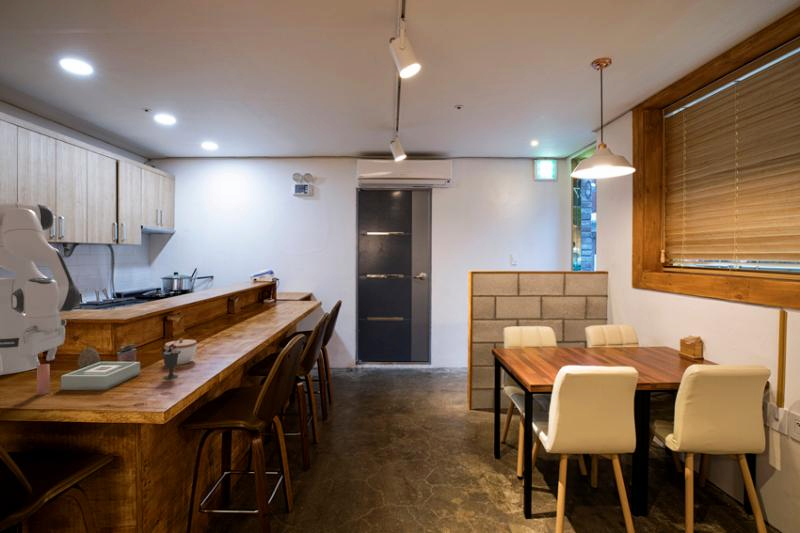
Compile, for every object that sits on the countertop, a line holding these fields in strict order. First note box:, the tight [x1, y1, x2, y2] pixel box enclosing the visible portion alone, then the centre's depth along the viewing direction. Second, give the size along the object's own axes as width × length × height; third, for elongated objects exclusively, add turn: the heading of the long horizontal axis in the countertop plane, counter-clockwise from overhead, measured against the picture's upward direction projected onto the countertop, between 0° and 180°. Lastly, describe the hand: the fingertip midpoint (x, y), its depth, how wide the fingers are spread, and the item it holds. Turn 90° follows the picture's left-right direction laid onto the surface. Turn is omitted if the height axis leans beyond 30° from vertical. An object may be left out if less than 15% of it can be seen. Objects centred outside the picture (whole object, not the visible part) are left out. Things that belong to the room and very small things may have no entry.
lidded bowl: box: [164, 337, 198, 365], centre depth 167 cm, size 13×13×11 cm
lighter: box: [116, 343, 137, 362], centre depth 158 cm, size 8×3×10 cm, turn 168°
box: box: [60, 361, 141, 391], centre depth 141 cm, size 16×18×5 cm
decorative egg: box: [77, 346, 101, 369], centre depth 153 cm, size 7×7×10 cm
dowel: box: [36, 363, 51, 396], centre depth 128 cm, size 3×3×10 cm
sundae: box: [160, 339, 180, 380], centre depth 146 cm, size 7×7×15 cm
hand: (42, 363), depth 127 cm, fingers open, 8 cm apart
